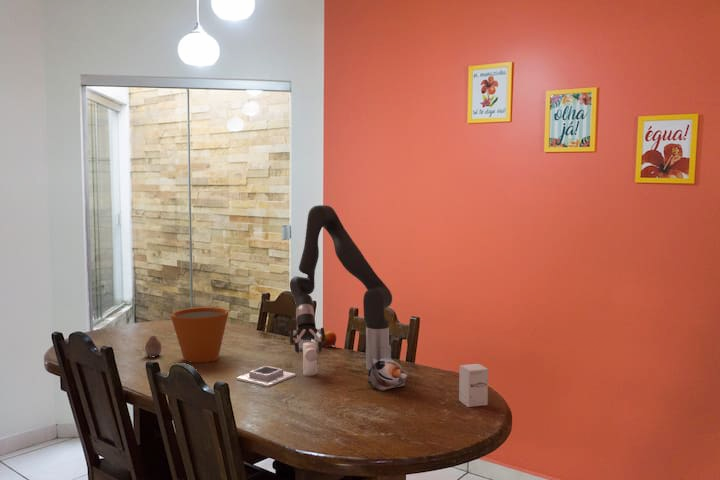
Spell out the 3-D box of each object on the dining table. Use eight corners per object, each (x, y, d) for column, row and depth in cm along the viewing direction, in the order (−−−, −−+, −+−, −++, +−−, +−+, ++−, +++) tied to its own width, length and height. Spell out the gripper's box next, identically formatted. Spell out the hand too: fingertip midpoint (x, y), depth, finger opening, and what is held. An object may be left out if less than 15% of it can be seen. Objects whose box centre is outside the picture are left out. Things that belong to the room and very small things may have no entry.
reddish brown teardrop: (164, 354, 268) (163, 334, 268) (157, 358, 261) (157, 338, 261) (149, 353, 269) (148, 334, 268) (142, 358, 262) (141, 338, 261)
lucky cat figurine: (410, 382, 228) (416, 355, 220) (398, 404, 218) (403, 376, 211) (374, 367, 232) (378, 340, 225) (360, 387, 223) (364, 360, 215)
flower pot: (160, 361, 257) (158, 315, 255) (199, 348, 278) (198, 305, 276) (203, 369, 246) (201, 320, 244) (240, 355, 267) (239, 310, 265)
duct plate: (295, 375, 237) (295, 368, 237) (268, 386, 224) (268, 379, 223) (265, 369, 246) (264, 362, 245) (236, 379, 232) (236, 372, 232)
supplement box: (468, 408, 202) (468, 370, 200) (458, 400, 209) (458, 364, 208) (488, 405, 204) (488, 368, 203) (477, 398, 211) (478, 362, 210)
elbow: (302, 372, 241) (302, 342, 240) (315, 371, 242) (315, 341, 241) (305, 378, 233) (304, 348, 232) (318, 378, 234) (318, 347, 233)
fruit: (332, 346, 275) (325, 330, 276) (320, 353, 279) (314, 337, 281) (343, 343, 281) (336, 327, 283) (332, 349, 285) (325, 333, 287)
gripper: (288, 313, 246) (291, 348, 236) (323, 311, 249) (327, 346, 239) (287, 323, 252) (290, 358, 242) (321, 321, 255) (325, 356, 245)
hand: (308, 352), depth 240 cm, fingers open, 8 cm apart
